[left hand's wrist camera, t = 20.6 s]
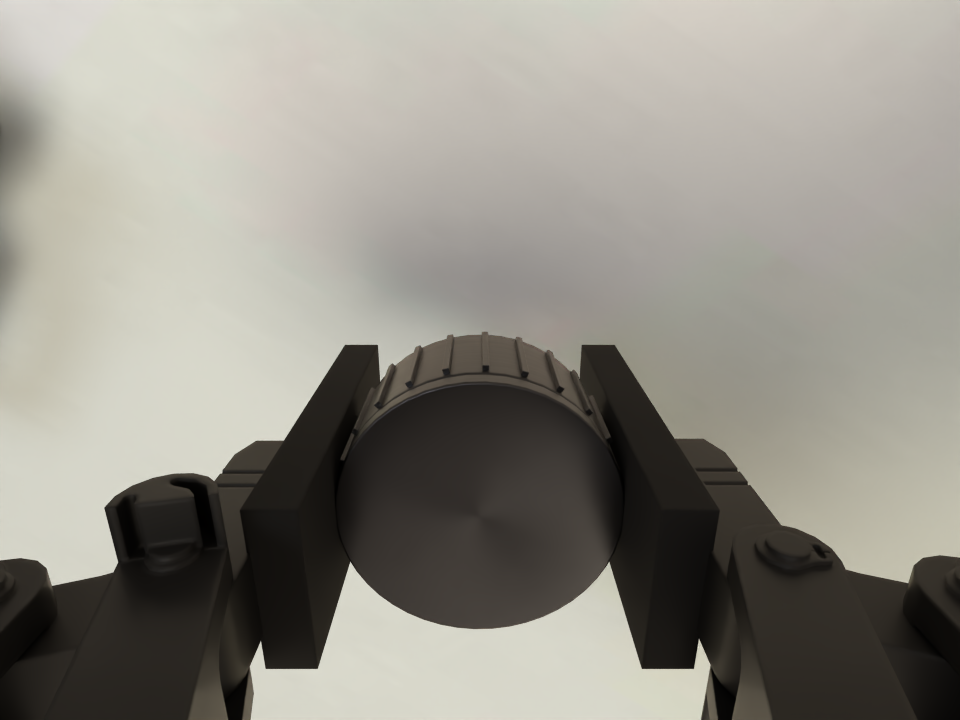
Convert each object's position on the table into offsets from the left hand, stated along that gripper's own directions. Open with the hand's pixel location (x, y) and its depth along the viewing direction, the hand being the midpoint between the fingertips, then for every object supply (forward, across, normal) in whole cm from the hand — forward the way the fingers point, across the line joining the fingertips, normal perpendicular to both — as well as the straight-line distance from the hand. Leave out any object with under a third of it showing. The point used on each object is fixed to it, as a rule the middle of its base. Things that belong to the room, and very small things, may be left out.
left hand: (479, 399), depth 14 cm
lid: (-4, 0, 0) cm, 4 cm away
